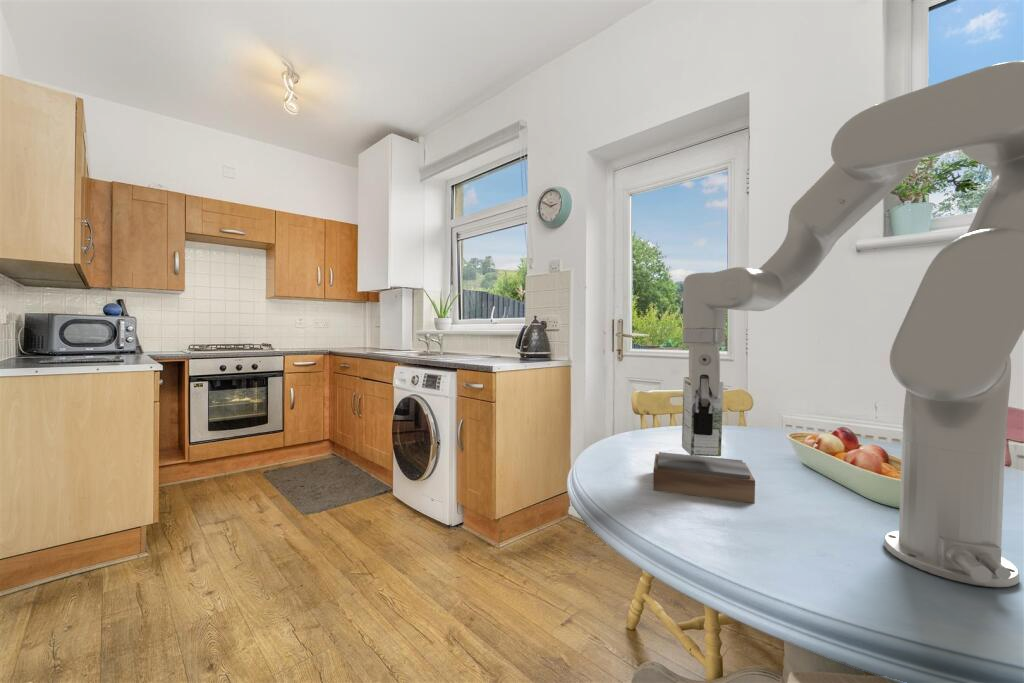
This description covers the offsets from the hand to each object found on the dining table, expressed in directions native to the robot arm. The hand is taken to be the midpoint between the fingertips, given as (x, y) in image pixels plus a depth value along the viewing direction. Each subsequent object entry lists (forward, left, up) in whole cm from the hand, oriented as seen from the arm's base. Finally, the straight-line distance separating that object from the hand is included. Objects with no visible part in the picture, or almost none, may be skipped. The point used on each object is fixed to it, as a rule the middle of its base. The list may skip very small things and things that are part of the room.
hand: (701, 429), depth 84 cm
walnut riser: (0, 0, -11) cm, 11 cm away
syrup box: (0, 0, -5) cm, 5 cm away
